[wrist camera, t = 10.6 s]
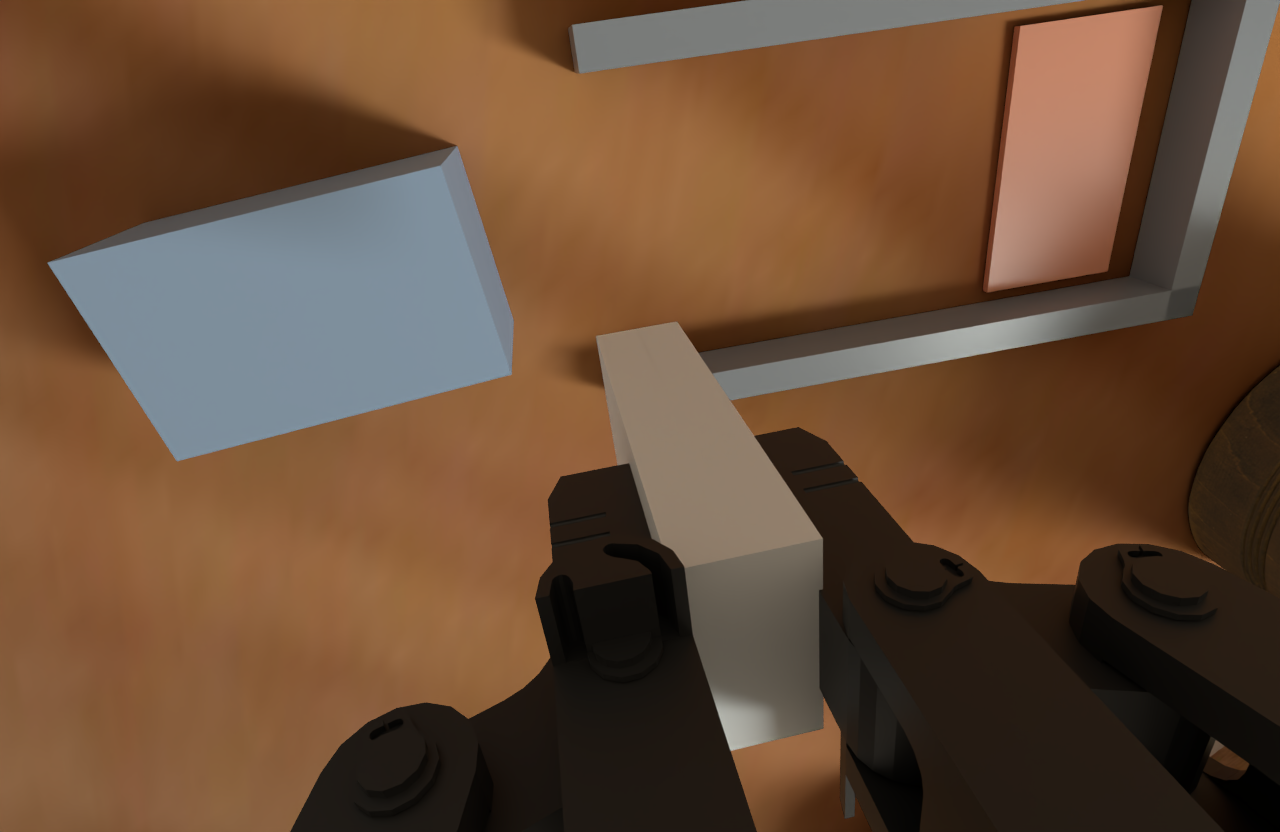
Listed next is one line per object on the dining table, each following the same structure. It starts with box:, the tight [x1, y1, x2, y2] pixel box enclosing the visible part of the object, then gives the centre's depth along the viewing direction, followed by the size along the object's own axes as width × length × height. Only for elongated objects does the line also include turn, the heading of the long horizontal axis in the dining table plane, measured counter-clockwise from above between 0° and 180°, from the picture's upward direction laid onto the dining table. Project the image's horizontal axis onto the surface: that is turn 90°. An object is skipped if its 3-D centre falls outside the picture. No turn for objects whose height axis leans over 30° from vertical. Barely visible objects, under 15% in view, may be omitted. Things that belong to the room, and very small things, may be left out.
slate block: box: [48, 146, 514, 461], centre depth 21 cm, size 10×6×5 cm, turn 102°
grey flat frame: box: [568, 0, 1280, 400], centre depth 23 cm, size 22×12×2 cm, turn 97°
